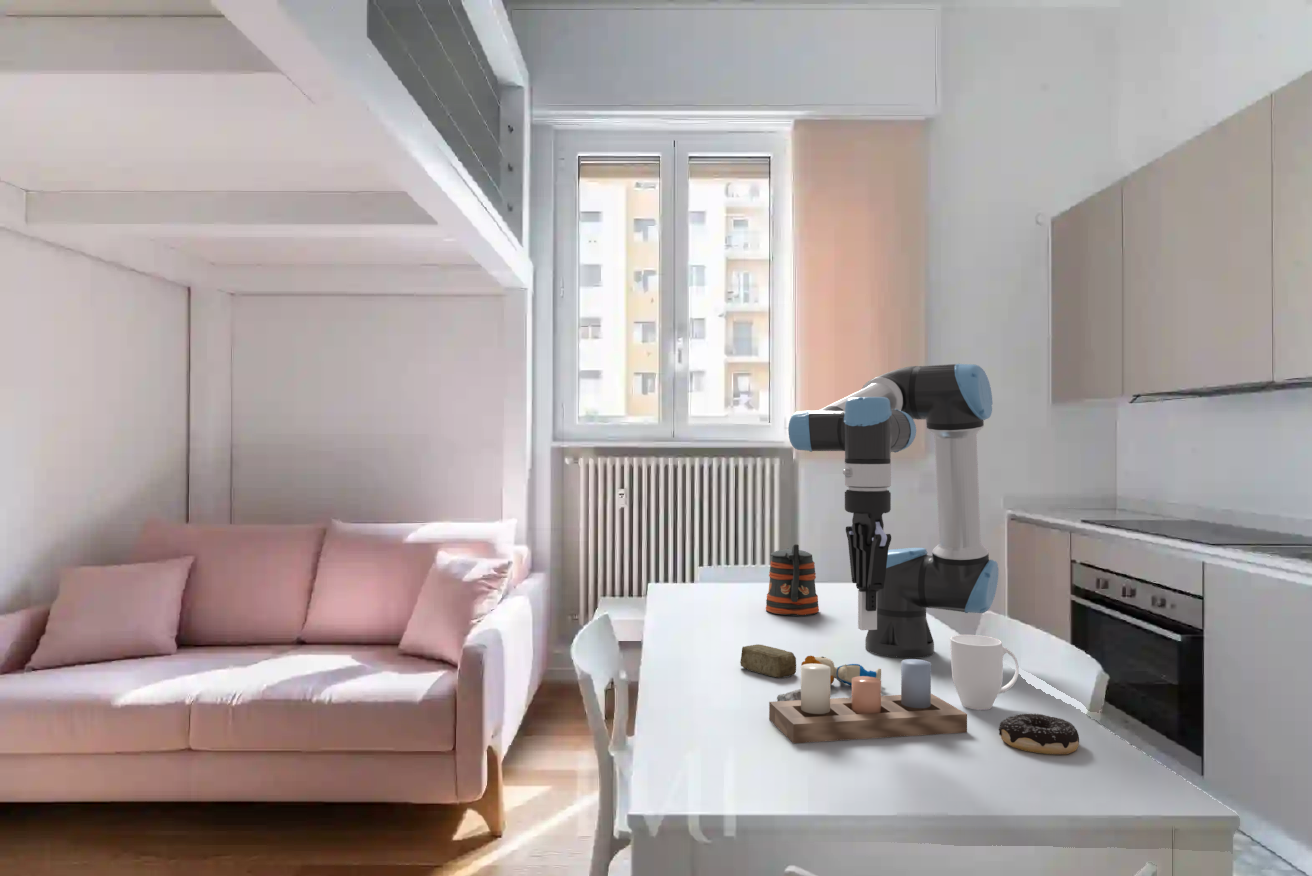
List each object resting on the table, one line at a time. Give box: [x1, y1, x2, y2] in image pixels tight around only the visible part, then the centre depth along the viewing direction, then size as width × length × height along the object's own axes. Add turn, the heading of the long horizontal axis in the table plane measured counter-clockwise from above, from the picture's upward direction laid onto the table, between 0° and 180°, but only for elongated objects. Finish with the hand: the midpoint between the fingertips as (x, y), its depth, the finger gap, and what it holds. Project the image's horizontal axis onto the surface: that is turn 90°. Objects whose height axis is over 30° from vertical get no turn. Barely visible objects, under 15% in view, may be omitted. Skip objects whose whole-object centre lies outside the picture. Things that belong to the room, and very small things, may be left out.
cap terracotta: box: [851, 676, 882, 714], centre depth 147 cm, size 5×5×7 cm
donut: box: [998, 713, 1080, 756], centre depth 139 cm, size 11×12×4 cm
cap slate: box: [900, 658, 932, 708], centre depth 149 cm, size 5×5×7 cm
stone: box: [776, 688, 801, 701], centre depth 157 cm, size 6×12×4 cm, turn 143°
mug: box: [949, 634, 1020, 711], centre depth 159 cm, size 12×9×12 cm
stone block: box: [739, 643, 797, 679], centre depth 181 cm, size 6×12×5 cm, turn 41°
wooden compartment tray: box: [768, 693, 968, 744], centre depth 147 cm, size 30×12×3 cm, turn 101°
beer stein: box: [765, 543, 820, 617], centre depth 242 cm, size 19×15×20 cm
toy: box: [800, 655, 882, 687], centre depth 171 cm, size 12×6×15 cm
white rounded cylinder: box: [800, 664, 831, 714], centre depth 145 cm, size 5×5×7 cm
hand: (867, 628), depth 147 cm, fingers closed
